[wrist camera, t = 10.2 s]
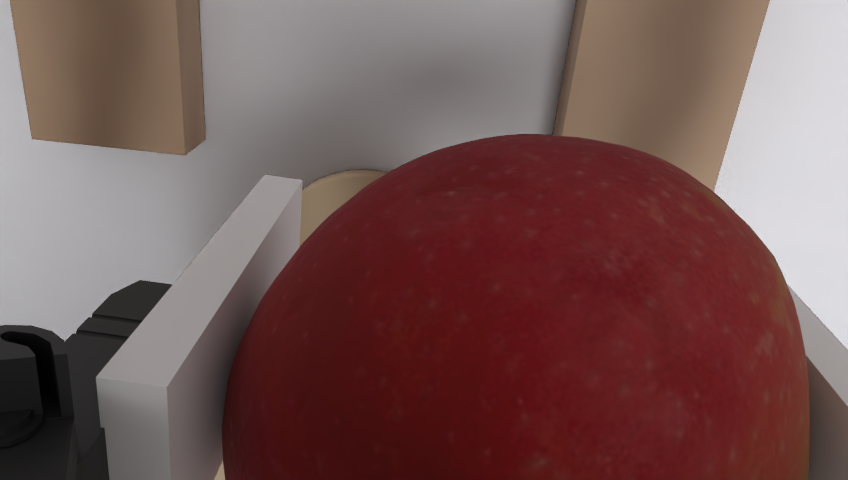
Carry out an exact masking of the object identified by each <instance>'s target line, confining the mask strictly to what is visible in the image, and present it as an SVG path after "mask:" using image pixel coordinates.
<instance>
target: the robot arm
mask: <svg viewBox="0 0 848 480" xmlns="http://www.w3.org/2000/svg"><path fill="white" fill-rule="evenodd" d="M302 186H303V180H300V179H293V178H285V177H278V176H271V175H264V176H263V177H262V178H261V179H260V180H259V182H258V183H257V184H256V185H255V186H254V188H253V189H252V190H251V191H250V192H249V194H248V195H247V196H246V197H245V198H244V200H243V201H242V202H241V203H240V204H239V206H238V207H237V208H236V209H235V210H234V212H233V213H232V214H231V215H230V217H229V218H228V219H227V220H226V221H225V223H224V224H223V225H222V226H221V227H220V229H219V230H218V231H217V232H216V233H215V235H214V236H213V237H212V238H211V239H210V241H209V242H208V243H207V244H206V245H205V247H204V248H203V249H202V250H201V251H200V253H199V254H198V255H197V256H196V257H195V259H194V260H193V261H192V262H191V263H190V265H189V266H188V267H187V268H186V269H185V271H184V272H183V273H182V274H181V275H180V277H179V278H178V279H177V280H176V281H175V283H174V284H173V285H171V284H164V283H157V282H149V281H142V280H139V281H137V282H135V283H133V284H131V285H129V286H127V287H125V288H123V289H121V290H119V291H117V292H115V293H113V294H111V295H110V296H109V297H108V298H107V299H106V300H105V301H104V302H103V303H102V304H101V305H100V306H99V307H98V308H97V309H96V310H95V311H94V313H93V314H92V318H90V317H89V318H88V319H87V320H86V321H85V322H84V323H83V324H82V325H81V326H80V327H79V328H78V329H77V332H76V334H72V335H71V336H70V337H69V338H68V339H67V340H66V341H65V342H64V340H63V339H61V338H60V337H59V336H57V335H56V334H55V333H53V332H52V331H49V330H46V329H42V328H38V327H34V326H22V325H3V326H0V480H214V479H215V477H216V474H217V472H218V470H219V468H220V466H221V463H222V461H223V453H222V422H223V414H224V407H225V399H226V392H227V384H228V378H229V374H230V370H231V367H232V364H233V361H234V358H235V356H236V353H237V350H238V347H239V345H240V343H241V341H242V338H243V336H244V334H245V332H246V330H247V327H248V325H249V323H250V321H251V319H252V317H253V315H254V313H255V311H256V309H257V307H258V305H259V303H260V301H261V299H262V298H263V296H264V295H265V293H266V292H267V290H268V289H269V287H270V286H271V284H272V283H273V281H274V280H275V278H276V277H277V276H278V274H279V273H280V272H281V271H282V269H283V268H284V267H285V265H286V264H287V263H288V261H289V260H290V259H291V258H292V256H293V255H294V254H295V252H296V251H297V250H298V248H299V242H300V223H301V205H302ZM786 284H787V283H786ZM787 286H788V285H787ZM788 288H789V291H790V293H791V296H792V298H793V300H794V304H795V307H796V311H797V315H798V319H799V322H800V327H801V332H802V337H803V342H804V348H805V354H806V362H807V370H808V380H809V407H810V454H809V471H808V480H848V350H847V349H846V348H845V346H844V345H843V344H842V343H841V342H840V341H839V340H838V339H837V338H836V337H835V336H834V334H833V333H832V332H831V331H830V330H829V329H828V328H827V327H826V326H825V325H824V324H823V323H822V321H821V320H820V319H819V318H818V317H817V316H816V315H815V314H814V313H813V312H812V311H811V310H810V308H809V307H808V306H807V305H806V304H805V303H804V302H803V301H802V300H801V299H800V298H799V297H798V295H797V294H796V293H795V292H794V291H793V290H792V289H791V288H790V287H789V286H788Z"/></svg>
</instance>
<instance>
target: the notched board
mask: <svg viewBox="0 0 848 480" xmlns="http://www.w3.org/2000/svg"><path fill="white" fill-rule="evenodd" d="M769 1H770V0H576V6H575V11H574V17H573V22H572V28H571V34H570V39H569V45H568V51H567V56H566V62H565V67H564V73H563V79H562V84H561V90H560V95H559V101H558V107H557V112H556V118H555V123H554V129H553V135H554V136H568V137H580V138H587V139H593V140H598V141H603V142H608V143H613V144H618V145H623V146H627V147H630V148H633V149H636V150H640V151H643V152H646V153H648V154H651V155H653V156H656V157H659V158H661V159H664V160H666V161H668V162H669V163H671V164H673V165H675V166H677V167H678V168H680V169H682V170H684V171H685V172H687V173H688V174H690V175H691V176H693V177H694V178H695V179H697V180H698V181H700V182H701V183H702V184H704V185H705V186H706V187H708V188H709V189H711V190H712V191H713V192H714V188H715V185H716V182H717V178H718V175H719V171H720V168H721V165H722V161H723V158H724V154H725V151H726V148H727V144H728V141H729V137H730V134H731V131H732V127H733V124H734V120H735V117H736V114H737V110H738V107H739V103H740V100H741V97H742V93H743V90H744V86H745V83H746V80H747V76H748V73H749V69H750V66H751V63H752V59H753V56H754V52H755V49H756V46H757V42H758V39H759V35H760V32H761V29H762V25H763V22H764V18H765V15H766V12H767V8H768V5H769ZM10 5H11V11H12V18H13V24H14V30H15V36H16V42H17V49H18V55H19V61H20V67H21V74H22V80H23V86H24V92H25V98H26V105H27V111H28V117H29V123H30V130H31V136H32V139H37V140H46V141H55V142H65V143H74V144H83V145H93V146H102V147H111V148H121V149H130V150H139V151H149V152H158V153H167V154H177V155H186V154H188V153H189V152H190V151H191V150H193V149H194V148H195V147H197V146H198V145H199V144H200V143H202V142H203V141H204V140H205V123H204V102H203V81H202V60H201V39H200V18H199V0H10Z"/></svg>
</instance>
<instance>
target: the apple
mask: <svg viewBox="0 0 848 480" xmlns="http://www.w3.org/2000/svg"><path fill="white" fill-rule="evenodd" d="M222 453H223V466H224V474H225V480H808V471H809V454H810V407H809V380H808V370H807V362H806V354H805V348H804V342H803V337H802V332H801V327H800V322H799V319H798V315H797V311H796V307H795V304H794V300H793V298H792V296H791V293H790V291H789V288H788V286H787V284H786V281H785V279H784V276H783V274H782V272H781V270H780V268H779V266H778V263H777V261H776V259H775V257H774V256H773V254H772V253H771V252H770V251H769V249H768V248H767V247H766V246H765V244H764V243H763V242H762V241H761V240H760V238H759V237H758V236H757V235H756V234H755V232H754V231H753V230H752V229H751V227H750V226H749V225H748V224H747V223H746V222H745V221H744V220H742V219H741V218H740V217H739V216H738V215H737V214H736V213H735V212H734V211H733V210H732V209H731V208H730V207H729V206H728V205H727V204H726V203H725V202H724V201H723V200H722V199H721V198H720V197H719V196H718V195H716V194H715V193H714V192H713V191H712V190H711V189H709V188H708V187H706V186H705V185H704V184H702V183H701V182H700V181H698V180H697V179H695V178H694V177H693V176H691V175H690V174H688V173H687V172H685V171H684V170H682V169H680V168H678V167H677V166H675V165H673V164H671V163H669V162H668V161H666V160H664V159H661V158H659V157H656V156H653V155H651V154H648V153H646V152H643V151H640V150H636V149H633V148H630V147H627V146H623V145H618V144H613V143H608V142H603V141H598V140H593V139H587V138H580V137H568V136H554V135H542V134H517V135H504V136H497V137H490V138H484V139H479V140H474V141H470V142H465V143H461V144H458V145H454V146H450V147H447V148H443V149H440V150H437V151H434V152H431V153H429V154H426V155H424V156H421V157H419V158H417V159H414V160H412V161H410V162H408V163H406V164H404V165H402V166H400V167H398V168H396V169H394V170H392V171H390V172H389V173H387V174H385V175H383V176H381V177H380V178H378V179H376V180H374V181H373V182H371V183H370V184H368V185H367V186H365V187H364V188H363V189H361V190H360V191H359V192H358V193H357V194H355V195H354V196H353V197H352V198H351V199H349V200H348V201H347V202H346V203H344V204H343V205H342V206H341V207H339V208H338V209H337V210H336V211H334V212H333V213H332V214H331V215H330V216H329V217H327V218H326V219H325V220H324V221H323V222H322V223H321V224H320V225H319V226H318V227H317V228H316V230H315V231H314V232H313V233H312V234H311V235H310V236H309V237H308V238H307V239H306V240H305V241H304V242H303V243H302V245H301V246H300V247H299V248H298V250H297V251H296V252H295V254H294V255H293V256H292V258H291V259H290V260H289V261H288V263H287V264H286V265H285V267H284V268H283V269H282V271H281V272H280V273H279V274H278V276H277V277H276V278H275V280H274V281H273V283H272V284H271V286H270V287H269V289H268V290H267V292H266V293H265V295H264V296H263V298H262V299H261V301H260V303H259V305H258V307H257V309H256V311H255V313H254V315H253V317H252V319H251V321H250V323H249V325H248V327H247V330H246V332H245V334H244V336H243V338H242V341H241V343H240V345H239V347H238V350H237V353H236V356H235V358H234V361H233V364H232V367H231V370H230V374H229V378H228V384H227V392H226V399H225V407H224V414H223V422H222Z"/></svg>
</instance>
